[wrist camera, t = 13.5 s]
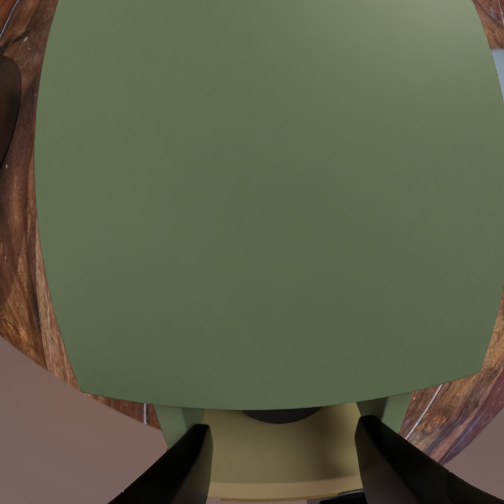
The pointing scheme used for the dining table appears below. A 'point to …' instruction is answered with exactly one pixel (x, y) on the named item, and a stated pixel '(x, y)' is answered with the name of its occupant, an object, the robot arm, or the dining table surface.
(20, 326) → the dining table surface
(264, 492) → the drawer
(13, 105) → the round grey canister
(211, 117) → the cabinet
